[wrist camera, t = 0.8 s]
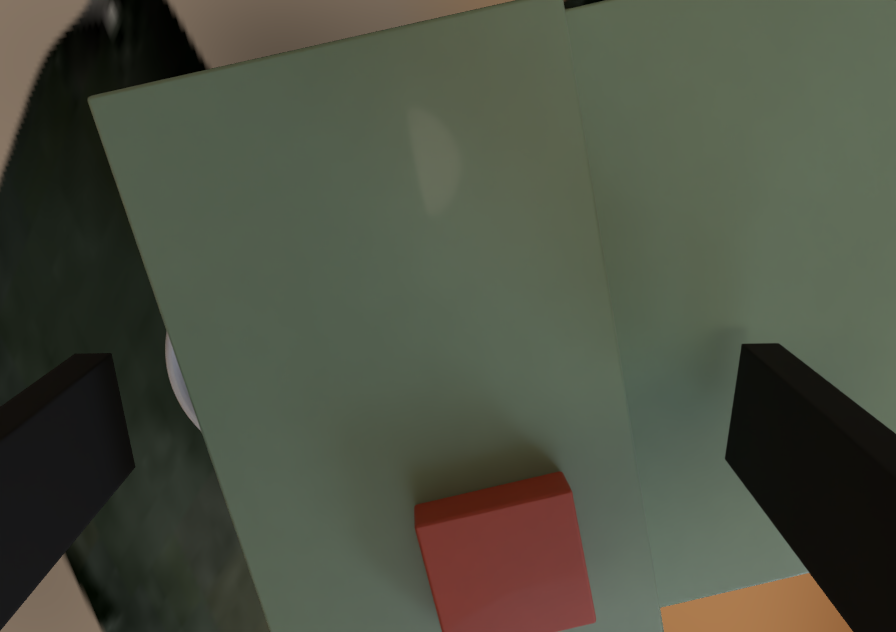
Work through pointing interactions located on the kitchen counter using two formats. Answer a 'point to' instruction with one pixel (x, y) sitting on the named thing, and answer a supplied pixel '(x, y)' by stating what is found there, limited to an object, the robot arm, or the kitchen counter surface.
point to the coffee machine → (515, 295)
